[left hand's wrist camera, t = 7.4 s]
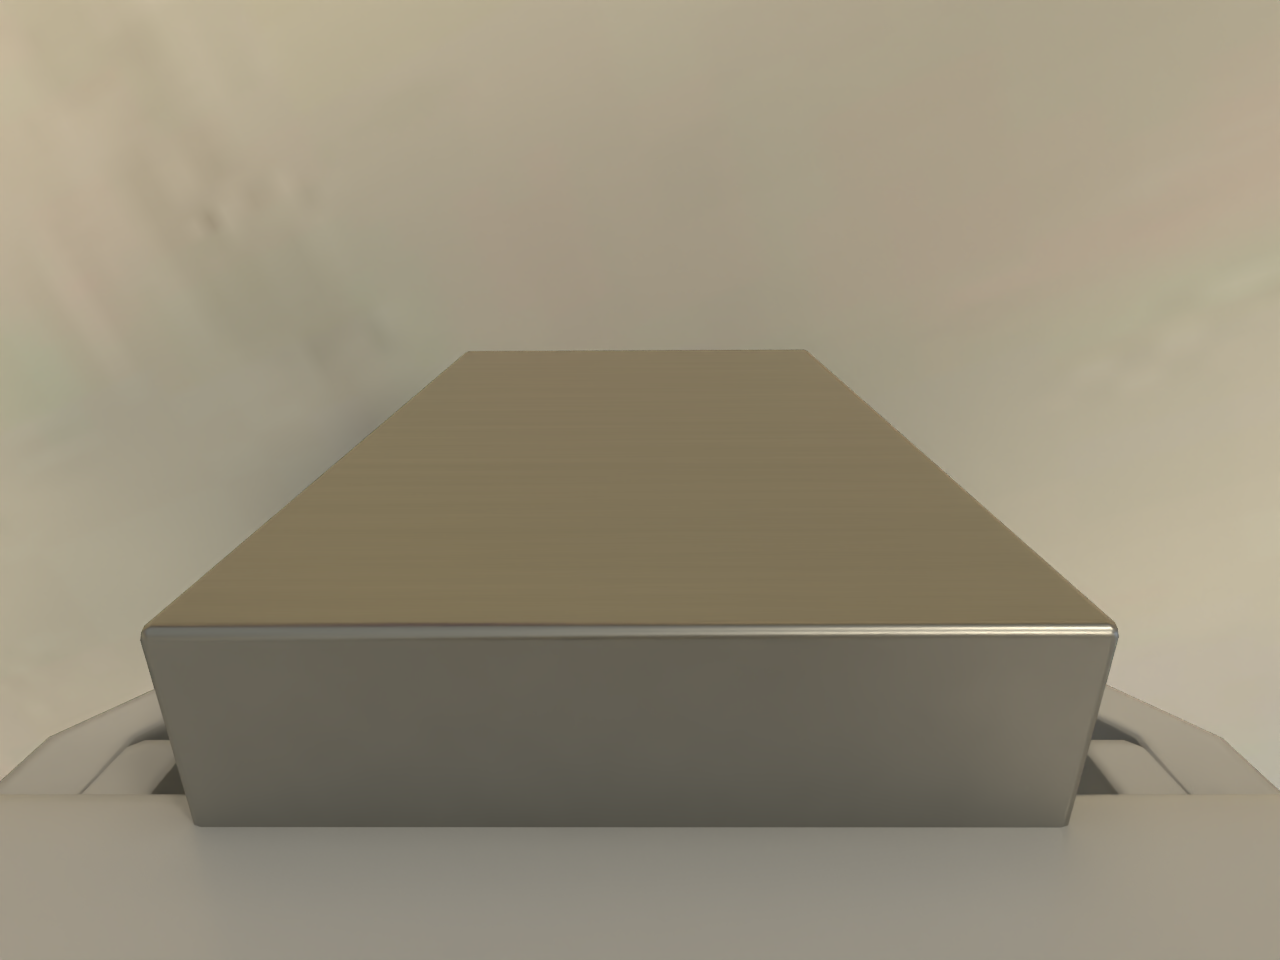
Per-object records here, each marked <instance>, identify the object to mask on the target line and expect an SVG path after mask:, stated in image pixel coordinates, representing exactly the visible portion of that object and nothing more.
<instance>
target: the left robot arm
mask: <svg viewBox="0 0 1280 960" xmlns="http://www.w3.org/2000/svg"><path fill="white" fill-rule="evenodd" d="M0 960H1280V791H1279V790H1278V789H1277V788H1276V787H1275V786H1274V785H1273V784H1272V783H1271V782H1270V781H1268V780H1267V779H1266V778H1265V777H1264V776H1263V775H1262V774H1261V773H1260V772H1259V771H1258V770H1257V769H1255V768H1254V767H1253V766H1252V765H1251V764H1250V763H1249V762H1248V761H1247V760H1246V759H1245V758H1244V757H1242V756H1241V755H1240V754H1239V753H1238V752H1237V751H1236V750H1235V749H1234V748H1233V747H1232V746H1230V745H1229V744H1228V743H1227V742H1226V741H1225V740H1224V739H1223V738H1221V737H1219V736H1217V735H1215V734H1213V733H1210V732H1208V731H1206V730H1204V729H1202V728H1199V727H1197V726H1195V725H1193V724H1191V723H1189V722H1186V721H1184V720H1182V719H1180V718H1178V717H1176V716H1173V715H1171V714H1169V713H1167V712H1165V711H1163V710H1160V709H1158V708H1156V707H1154V706H1152V705H1149V704H1147V703H1145V702H1143V701H1141V700H1139V699H1136V698H1134V697H1132V696H1130V695H1128V694H1126V693H1123V692H1121V691H1119V690H1117V689H1115V688H1113V687H1110V686H1108V685H1106V686H1105V690H1104V693H1103V697H1102V701H1101V705H1100V708H1099V712H1098V716H1097V720H1096V723H1095V727H1094V731H1093V734H1092V738H1091V742H1090V746H1089V749H1088V753H1087V757H1086V761H1085V764H1084V768H1083V772H1082V776H1081V779H1080V783H1079V787H1078V790H1077V794H1076V798H1075V802H1074V805H1073V809H1072V813H1071V817H1070V820H1069V824H1068V825H1067V826H1064V827H1061V828H1013V827H199V826H197V825H194V822H193V819H192V816H191V812H190V809H189V805H188V802H187V798H186V795H185V792H184V788H183V785H182V781H181V778H180V774H179V771H178V768H177V764H176V761H175V757H174V754H173V750H172V747H171V744H170V740H169V737H168V733H167V730H166V726H165V723H164V720H163V716H162V713H161V709H160V706H159V702H158V699H157V696H156V692H155V689H154V690H152V691H149V692H147V693H145V694H143V695H141V696H138V697H136V698H134V699H132V700H130V701H127V702H125V703H123V704H121V705H119V706H116V707H114V708H112V709H110V710H108V711H105V712H103V713H101V714H99V715H97V716H94V717H92V718H90V719H88V720H86V721H83V722H81V723H79V724H77V725H75V726H72V727H70V728H68V729H66V730H64V731H61V732H59V733H57V734H55V735H53V736H50V737H49V738H48V739H46V740H45V741H44V742H43V743H42V744H41V745H40V746H39V747H38V748H36V749H35V750H34V751H33V752H32V753H31V754H30V755H29V756H28V757H26V758H25V759H24V760H23V761H22V762H21V763H20V764H19V765H18V766H16V767H15V768H14V769H13V770H12V771H11V772H10V773H9V774H8V775H7V776H5V777H4V778H3V779H2V780H1V781H0Z"/></svg>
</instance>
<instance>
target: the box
mask: <svg viewBox="0 0 1280 960" xmlns="http://www.w3.org/2000/svg"><path fill="white" fill-rule="evenodd" d="M1118 637H1119V636H1118V628H1117V626H1116V624H1115V622H1114V621H1113V620H1112V619H1110V618H1109V617H1108V616H1107V615H1106V614H1105V613H1104V612H1102V611H1101V610H1100V609H1099V608H1098V607H1097V606H1096V605H1095V604H1093V603H1092V602H1091V601H1090V600H1089V599H1088V598H1087V597H1085V596H1084V595H1083V594H1082V593H1081V592H1080V591H1079V590H1078V589H1076V588H1075V587H1074V586H1073V585H1072V584H1071V583H1070V582H1068V581H1067V580H1066V579H1065V578H1064V577H1063V576H1062V575H1061V574H1059V573H1058V572H1057V571H1056V570H1055V569H1054V568H1053V567H1051V566H1050V565H1049V564H1048V563H1047V562H1046V561H1045V560H1044V559H1042V558H1041V557H1040V556H1039V555H1038V554H1037V553H1036V552H1034V551H1033V550H1032V549H1031V548H1030V547H1029V546H1028V545H1027V544H1025V543H1024V542H1023V541H1022V540H1021V539H1020V538H1019V537H1017V536H1016V535H1015V534H1014V533H1013V532H1012V531H1011V530H1010V529H1008V528H1007V527H1006V526H1005V525H1004V524H1003V523H1002V522H1001V521H999V520H998V519H997V518H996V517H995V516H994V515H993V514H991V513H990V512H989V511H988V510H987V509H986V508H985V507H984V506H982V505H981V504H980V503H979V502H978V501H977V500H976V499H974V498H973V497H972V496H971V495H970V494H969V493H968V492H967V491H965V490H964V489H963V488H962V487H961V486H960V485H959V484H957V483H956V482H955V481H954V480H953V479H952V478H951V477H950V476H948V475H947V474H946V473H945V472H944V471H943V470H942V469H940V468H939V467H938V466H937V465H936V464H935V463H934V462H933V461H931V460H930V459H929V458H928V457H927V456H926V455H925V454H923V453H922V452H921V451H920V450H919V449H918V448H917V447H916V446H914V445H913V444H912V443H911V442H910V441H909V440H908V439H906V438H905V437H904V436H903V435H902V434H901V433H900V432H899V431H897V430H896V429H895V428H894V427H893V426H892V425H891V424H889V423H888V422H887V421H886V420H885V419H884V418H883V417H882V416H880V415H879V414H878V413H877V412H876V411H875V410H874V409H872V408H871V407H870V406H869V405H868V404H867V403H866V402H865V401H863V400H862V399H861V398H860V397H859V396H858V395H857V394H855V393H854V392H853V391H852V390H851V389H850V388H849V387H848V386H846V385H845V384H844V383H843V382H842V381H841V380H840V379H839V378H837V377H836V376H835V375H834V374H833V373H832V372H831V371H829V370H828V369H827V368H826V367H825V366H824V365H823V364H822V363H820V362H819V361H818V360H817V359H816V358H815V357H814V356H812V355H811V354H810V353H809V352H808V351H806V350H647V351H469V352H466V353H465V354H464V355H462V356H461V357H460V358H459V359H458V360H457V361H455V362H454V363H453V364H452V365H451V366H449V367H448V368H447V369H446V370H445V371H444V372H442V373H441V374H440V375H439V376H438V377H437V378H435V379H434V380H433V381H432V382H431V383H429V384H428V385H427V386H426V387H425V388H424V389H422V390H421V391H420V392H419V393H418V394H417V395H415V396H414V397H413V398H412V399H411V400H409V401H408V402H407V403H406V404H405V405H404V406H402V407H401V408H400V409H399V410H398V411H397V412H395V413H394V414H393V415H392V416H391V417H390V418H388V419H387V420H386V421H385V422H384V423H382V424H381V425H380V426H379V427H378V428H377V429H375V430H374V431H373V432H372V433H371V434H370V435H368V436H367V437H366V438H365V439H364V440H362V441H361V442H360V443H359V444H358V445H357V446H355V447H354V448H353V449H352V450H351V451H350V452H348V453H347V454H346V455H345V456H344V457H342V458H341V459H340V460H339V461H338V462H337V463H335V464H334V465H333V466H332V467H331V468H330V469H328V470H327V471H326V472H325V473H324V474H322V475H321V476H320V477H319V478H318V479H317V480H315V481H314V482H313V483H312V484H311V485H310V486H308V487H307V488H306V489H305V490H304V491H302V492H301V493H300V494H299V495H298V496H297V497H295V498H294V499H293V500H292V501H291V502H290V503H288V504H287V505H286V506H285V507H284V508H283V509H281V510H280V511H279V512H278V513H277V514H275V515H274V516H273V517H272V518H271V519H270V520H268V521H267V522H266V523H265V524H264V525H263V526H261V527H260V528H259V529H258V530H257V531H255V532H254V533H253V534H252V535H251V536H250V537H248V538H247V539H246V540H245V541H244V542H243V543H241V544H240V545H239V546H238V547H237V548H235V549H234V550H233V551H232V552H231V553H230V554H228V555H227V556H226V557H225V558H224V559H223V560H221V561H220V562H219V563H218V564H217V565H215V566H214V567H213V568H212V569H211V570H210V571H208V572H207V573H206V574H205V575H204V576H203V577H201V578H200V579H199V580H198V581H197V582H196V583H194V584H193V585H192V586H191V587H190V588H188V589H187V590H186V591H185V592H184V593H183V594H181V595H180V596H179V597H178V598H177V599H176V600H174V601H173V602H172V603H171V604H170V605H168V606H167V607H166V608H165V609H164V610H163V611H161V612H160V613H159V614H158V615H157V616H156V617H154V618H153V619H152V620H151V621H150V622H148V623H147V624H146V625H145V626H144V628H143V630H142V632H141V639H140V641H141V644H142V648H143V651H144V654H145V658H146V661H147V665H148V668H149V672H150V675H151V678H152V682H153V685H154V689H155V692H156V696H157V699H158V702H159V706H160V709H161V713H162V716H163V720H164V723H165V726H166V730H167V733H168V737H169V740H170V744H171V747H172V750H173V754H174V757H175V761H176V764H177V768H178V771H179V774H180V778H181V781H182V785H183V788H184V792H185V795H186V798H187V802H188V805H189V809H190V812H191V816H192V819H193V822H194V825H197V826H199V827H1013V828H1061V827H1064V826H1067V825H1068V824H1069V820H1070V817H1071V813H1072V809H1073V805H1074V802H1075V798H1076V794H1077V790H1078V787H1079V783H1080V779H1081V776H1082V772H1083V768H1084V764H1085V761H1086V757H1087V753H1088V749H1089V746H1090V742H1091V738H1092V734H1093V731H1094V727H1095V723H1096V720H1097V716H1098V712H1099V708H1100V705H1101V701H1102V697H1103V693H1104V690H1105V686H1106V682H1107V678H1108V675H1109V671H1110V667H1111V663H1112V660H1113V656H1114V652H1115V649H1116V645H1117V641H1118Z"/></svg>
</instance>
